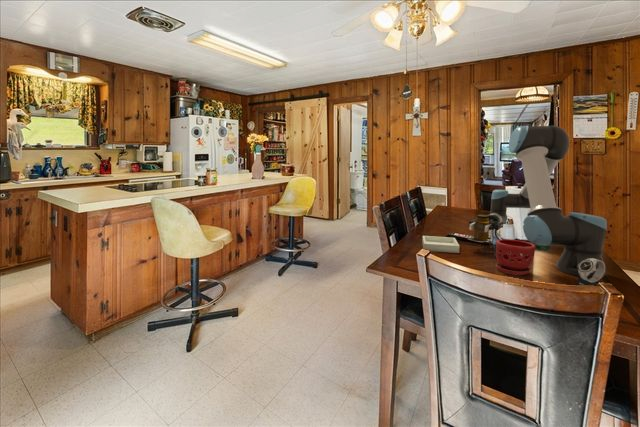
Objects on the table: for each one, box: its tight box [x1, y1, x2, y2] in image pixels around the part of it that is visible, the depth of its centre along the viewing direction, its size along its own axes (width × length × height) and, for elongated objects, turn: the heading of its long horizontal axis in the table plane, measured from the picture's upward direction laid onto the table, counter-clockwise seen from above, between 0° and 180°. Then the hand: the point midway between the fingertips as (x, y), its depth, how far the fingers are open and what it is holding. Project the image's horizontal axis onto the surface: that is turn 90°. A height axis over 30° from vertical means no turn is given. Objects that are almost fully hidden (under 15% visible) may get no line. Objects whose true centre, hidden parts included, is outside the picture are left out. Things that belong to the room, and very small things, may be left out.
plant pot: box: [495, 238, 536, 276], centre depth 126 cm, size 13×13×12 cm
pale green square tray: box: [421, 235, 460, 254], centre depth 159 cm, size 16×16×4 cm
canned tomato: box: [530, 242, 551, 252], centre depth 156 cm, size 8×8×11 cm
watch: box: [576, 258, 606, 286], centre depth 108 cm, size 6×8×11 cm
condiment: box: [468, 214, 491, 243], centre depth 152 cm, size 7×8×12 cm
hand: (477, 228), depth 148 cm, fingers closed on condiment, 6 cm apart
